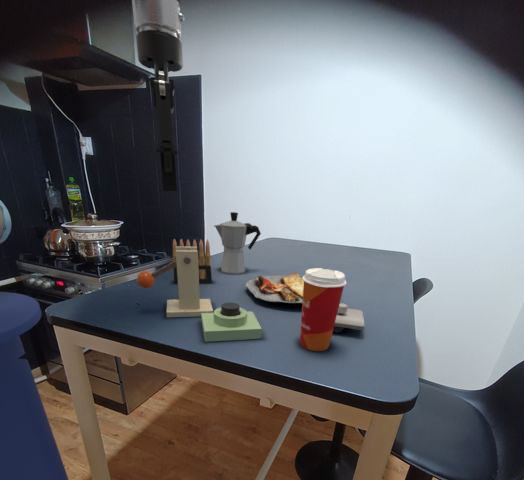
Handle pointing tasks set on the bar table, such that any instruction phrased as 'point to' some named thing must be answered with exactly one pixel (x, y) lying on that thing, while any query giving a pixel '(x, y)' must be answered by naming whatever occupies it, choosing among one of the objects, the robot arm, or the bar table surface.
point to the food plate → (278, 288)
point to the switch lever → (153, 275)
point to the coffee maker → (235, 243)
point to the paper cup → (320, 307)
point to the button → (230, 309)
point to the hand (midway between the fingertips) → (170, 190)
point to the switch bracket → (188, 286)
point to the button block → (230, 326)
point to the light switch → (348, 319)
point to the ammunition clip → (203, 265)
